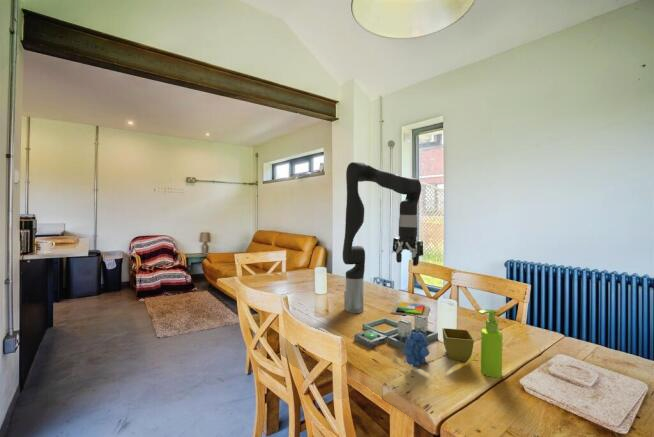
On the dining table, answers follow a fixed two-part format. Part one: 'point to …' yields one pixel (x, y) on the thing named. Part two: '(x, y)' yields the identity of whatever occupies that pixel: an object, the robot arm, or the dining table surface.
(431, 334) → the tray
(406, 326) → the cylinder
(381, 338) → the grey button housing
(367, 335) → the button
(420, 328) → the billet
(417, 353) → the grapes
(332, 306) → the dining table surface
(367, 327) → the tray
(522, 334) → the dining table surface
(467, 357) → the flower pot
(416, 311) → the wooden puzzle
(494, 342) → the soap dispenser
